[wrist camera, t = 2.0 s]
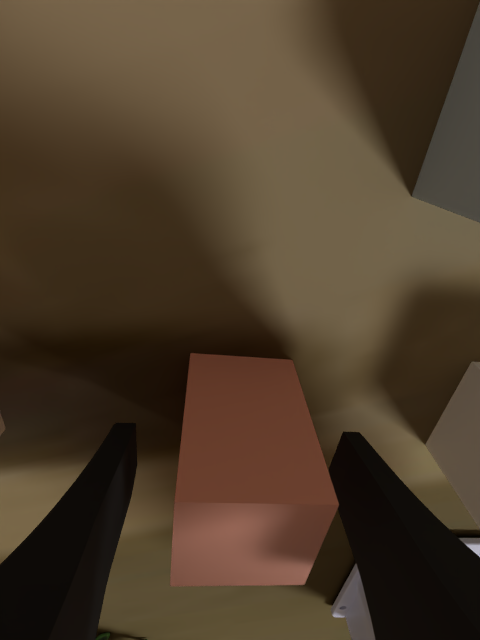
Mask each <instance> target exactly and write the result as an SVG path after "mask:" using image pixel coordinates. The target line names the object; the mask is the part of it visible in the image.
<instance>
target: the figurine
mask: <svg viewBox="0 0 480 640" xmlns="http://www.w3.org/2000/svg"><path fill="white" fill-rule="evenodd" d="M109 636H110V633H109V632H107V633H103V634H100V635H99V636H98V637H96V639H95V640H107V639H109V638H110V637H109ZM145 640H147V639H145Z"/></svg>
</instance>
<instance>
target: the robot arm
mask: <svg viewBox="0 0 480 640" xmlns="http://www.w3.org/2000/svg"><path fill="white" fill-rule="evenodd" d="M136 468H137V445H136V423H116V424H114V425H113V427H112V429H111V430H110V432H109V434H108V435H107V437H106V438H105V440H104V441H103V443H102V445H101V446H100V448H99V449H98V450H97V452H96V453H95V455H94V456H93V458H92V459H91V461H90V462H89V463H88V465H87V466H86V467H85V469H84V470H83V471H82V473H81V474H80V475H79V477H78V478H77V479H76V481H75V482H74V483H73V485H72V486H71V487H70V488H69V489H68V491H67V492H66V493H65V494H64V496H63V497H62V498H61V499H60V500H59V502H58V503H57V504H56V505H55V507H54V508H53V509H52V510H51V511H50V512H49V514H48V515H47V516H46V517H45V518H44V519H43V520H42V522H41V523H40V524H39V525H38V526H37V527H36V528H35V529H34V530H33V531H32V532H31V534H30V535H29V536H28V537H27V538H26V539H25V540H24V541H23V542H22V543H21V544H20V545H19V546H18V547H17V548H16V549H15V550H14V551H13V552H12V553H11V554H10V555H9V556H8V557H7V558H6V559H5V560H4V561H3V562H2V563H1V564H0V640H95V639H96V634H97V629H98V624H99V619H100V614H101V609H102V604H103V599H104V594H105V589H106V585H107V581H108V577H109V573H110V569H111V565H112V562H113V559H114V555H115V552H116V548H117V545H118V541H119V538H120V534H121V531H122V527H123V524H124V520H125V517H126V513H127V510H128V506H129V503H130V499H131V495H132V490H133V485H134V479H135V474H136ZM329 473H330V478H331V481H332V484H333V487H334V490H335V494H336V497H337V500H338V503H339V506H338V510H339V513H340V517H341V520H342V523H343V526H344V529H345V532H346V535H347V538H348V541H349V544H350V547H351V549H352V552H353V555H354V558H355V561H356V564H355V566H354V568H353V570H352V571H351V573H350V575H349V577H348V579H347V580H346V582H345V584H344V586H343V588H342V589H341V591H340V593H339V595H338V597H337V599H336V600H335V602H334V604H333V606H332V608H331V612H332V615H333V616H334V617H346V620H347V624H348V628H349V632H350V636H351V640H480V538H458V537H457V536H456V535H455V534H453V533H452V532H451V531H450V530H449V529H448V528H447V527H446V526H445V525H444V524H443V523H442V522H441V521H440V520H439V519H438V518H437V517H435V515H434V514H433V513H432V512H431V511H430V510H429V509H428V508H427V507H426V506H425V505H424V504H423V503H422V502H421V501H420V500H419V499H418V498H417V497H416V496H415V495H414V494H413V493H412V492H411V491H410V490H409V489H408V487H407V486H406V485H405V484H404V483H403V482H402V481H401V480H400V479H399V477H398V476H397V475H396V474H395V473H394V472H393V471H392V470H391V468H390V467H389V466H388V465H387V464H386V463H385V461H384V460H383V459H382V458H381V457H380V456H379V455H378V453H377V452H376V451H375V450H374V449H373V447H372V446H371V445H370V444H369V443H368V442H367V440H366V439H365V438H364V437H363V436H362V435H361V434H360V432H343V433H342V436H341V439H340V441H339V444H338V446H337V449H336V452H335V454H334V457H333V460H332V462H331V465H330V467H329Z"/></svg>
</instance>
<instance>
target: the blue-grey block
mask: <svg viewBox="0 0 480 640" xmlns="http://www.w3.org/2000/svg"><path fill="white" fill-rule="evenodd" d="M412 197H414V198H417V199H419V200H422V201H424V202H427V203H430V204H432V205H435V206H438V207H440V208H443V209H445V210H448V211H451V212H453V213H456V214H459V215H461V216H464V217H467V218H469V219H472V220H474V221H477V222H480V3H479V5H478V8H477V11H476V14H475V17H474V20H473V22H472V25H471V28H470V31H469V34H468V37H467V40H466V42H465V45H464V48H463V51H462V54H461V57H460V60H459V62H458V65H457V68H456V71H455V74H454V77H453V80H452V82H451V85H450V88H449V91H448V94H447V97H446V100H445V102H444V105H443V108H442V111H441V114H440V117H439V119H438V122H437V125H436V128H435V131H434V134H433V137H432V139H431V142H430V145H429V148H428V151H427V154H426V157H425V159H424V162H423V165H422V168H421V171H420V174H419V177H418V179H417V182H416V185H415V188H414V191H413V194H412Z"/></svg>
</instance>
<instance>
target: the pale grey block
mask: <svg viewBox="0 0 480 640" xmlns="http://www.w3.org/2000/svg"><path fill="white" fill-rule="evenodd" d="M425 446H426V447H427V449H428V450H429V452H430V453H431V455H432V456H433V458H434V459H435V461H436V463H437V464H438V466H439V467H440V469H441V470H442V472H443V473H444V475H445V476H446V478H447V480H448V481H449V483H450V484H451V486H452V487H453V489H454V490H455V492H456V493H457V495H458V497H459V498H460V500H461V501H462V503H463V504H464V506H465V507H466V509H467V510H468V512H469V514H470V515H471V517H472V518H473V520H474V521H475V523H476V524H477V526H478V527H479V529H480V362H471V363H470V365H469V367H468V369H467V371H466V372H465V374H464V376H463V378H462V380H461V381H460V383H459V385H458V387H457V389H456V390H455V392H454V394H453V396H452V397H451V399H450V401H449V403H448V405H447V406H446V408H445V410H444V412H443V414H442V415H441V417H440V419H439V421H438V423H437V424H436V426H435V428H434V430H433V431H432V433H431V435H430V437H429V439H428V440H427V442H426V444H425Z"/></svg>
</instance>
